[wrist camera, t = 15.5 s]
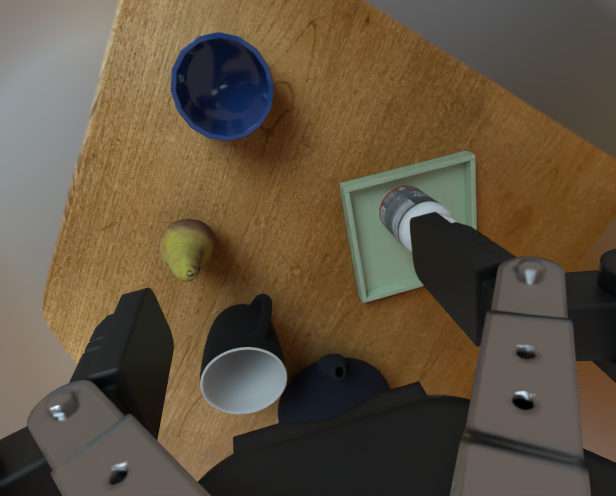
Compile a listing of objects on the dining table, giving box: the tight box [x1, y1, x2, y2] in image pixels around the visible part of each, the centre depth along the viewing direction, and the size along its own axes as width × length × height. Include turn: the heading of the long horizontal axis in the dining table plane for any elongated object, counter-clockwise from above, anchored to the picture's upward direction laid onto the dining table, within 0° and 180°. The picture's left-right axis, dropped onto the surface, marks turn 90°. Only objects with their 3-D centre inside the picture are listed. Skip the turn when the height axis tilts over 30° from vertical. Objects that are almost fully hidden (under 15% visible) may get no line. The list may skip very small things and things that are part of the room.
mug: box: [200, 294, 287, 414], centre depth 46 cm, size 12×9×10 cm
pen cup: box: [171, 32, 274, 141], centre depth 37 cm, size 8×8×6 cm
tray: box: [339, 151, 477, 303], centre depth 48 cm, size 15×15×2 cm
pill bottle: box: [379, 185, 458, 252], centre depth 43 cm, size 6×6×10 cm
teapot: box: [278, 354, 390, 423], centre depth 52 cm, size 25×16×12 cm, turn 6°
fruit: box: [159, 219, 215, 282], centre depth 39 cm, size 6×6×12 cm
